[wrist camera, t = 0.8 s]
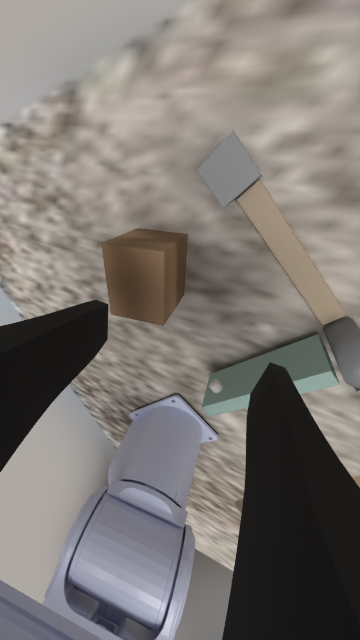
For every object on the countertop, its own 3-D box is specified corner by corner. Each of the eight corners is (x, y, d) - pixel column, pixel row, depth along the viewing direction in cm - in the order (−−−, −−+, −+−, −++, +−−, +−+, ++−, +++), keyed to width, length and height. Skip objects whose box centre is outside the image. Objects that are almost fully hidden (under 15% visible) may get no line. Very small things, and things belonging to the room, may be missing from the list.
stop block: (187, 234, 17) (164, 252, 13) (183, 294, 19) (163, 325, 15) (138, 228, 18) (101, 243, 14) (141, 287, 20) (111, 314, 16)
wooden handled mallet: (366, 393, 19) (395, 452, 15) (215, 172, 14) (196, 170, 10) (396, 387, 18) (435, 448, 14) (242, 145, 13) (233, 130, 9)
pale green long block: (313, 327, 17) (325, 362, 14) (329, 352, 17) (344, 391, 14) (206, 369, 22) (196, 401, 19) (221, 387, 23) (214, 421, 19)
